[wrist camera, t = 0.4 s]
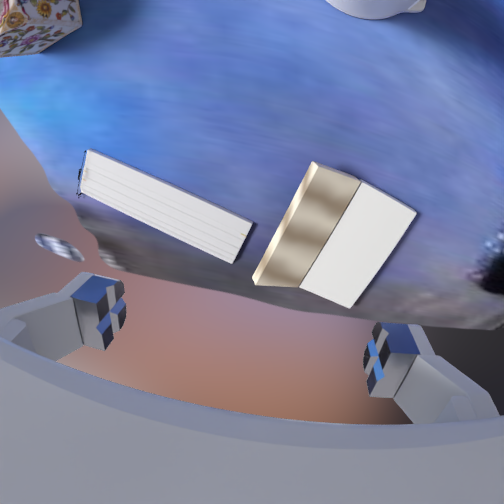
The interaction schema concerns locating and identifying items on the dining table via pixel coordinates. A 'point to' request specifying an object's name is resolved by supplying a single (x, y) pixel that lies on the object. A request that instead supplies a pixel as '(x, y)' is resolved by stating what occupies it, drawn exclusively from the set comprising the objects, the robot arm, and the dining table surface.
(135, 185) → the baseboard
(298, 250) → the birch plank
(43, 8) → the decorative jar
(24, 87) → the dining table surface
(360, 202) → the white board
